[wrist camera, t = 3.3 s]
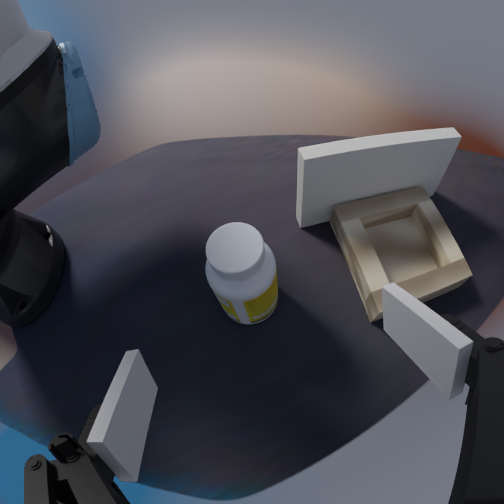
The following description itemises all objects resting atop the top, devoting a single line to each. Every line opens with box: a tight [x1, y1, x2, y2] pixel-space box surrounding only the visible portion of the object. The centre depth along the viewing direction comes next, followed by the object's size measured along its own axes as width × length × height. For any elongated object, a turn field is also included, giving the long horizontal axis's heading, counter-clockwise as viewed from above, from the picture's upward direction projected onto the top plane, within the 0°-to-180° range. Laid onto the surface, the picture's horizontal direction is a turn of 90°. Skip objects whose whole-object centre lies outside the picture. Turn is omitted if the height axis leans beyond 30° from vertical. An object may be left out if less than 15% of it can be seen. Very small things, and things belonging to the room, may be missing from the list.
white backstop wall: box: [296, 128, 461, 228], centre depth 28 cm, size 2×18×10 cm, turn 103°
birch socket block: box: [330, 186, 472, 323], centre depth 28 cm, size 12×12×3 cm
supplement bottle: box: [205, 222, 278, 324], centre depth 25 cm, size 5×5×10 cm
